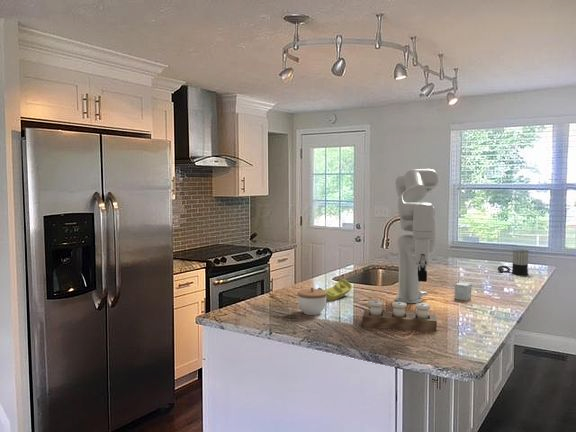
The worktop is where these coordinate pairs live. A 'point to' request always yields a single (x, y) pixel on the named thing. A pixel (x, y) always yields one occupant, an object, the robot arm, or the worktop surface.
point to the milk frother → (518, 263)
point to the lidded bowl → (312, 301)
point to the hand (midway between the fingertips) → (422, 279)
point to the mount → (399, 321)
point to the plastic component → (338, 290)
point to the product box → (463, 291)
